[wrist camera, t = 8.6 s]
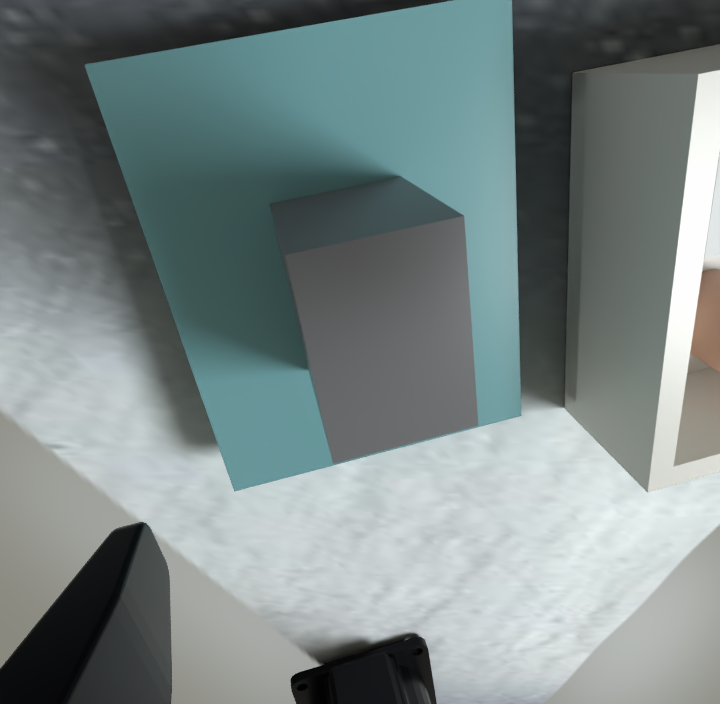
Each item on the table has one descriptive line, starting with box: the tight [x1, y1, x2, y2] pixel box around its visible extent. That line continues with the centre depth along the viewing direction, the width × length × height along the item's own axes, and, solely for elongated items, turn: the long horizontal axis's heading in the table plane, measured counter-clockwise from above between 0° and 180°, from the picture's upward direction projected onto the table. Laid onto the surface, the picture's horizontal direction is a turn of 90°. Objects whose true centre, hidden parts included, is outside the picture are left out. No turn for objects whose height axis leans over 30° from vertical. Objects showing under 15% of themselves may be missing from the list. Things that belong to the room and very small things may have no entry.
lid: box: [85, 0, 521, 491], centre depth 15 cm, size 12×10×6 cm
